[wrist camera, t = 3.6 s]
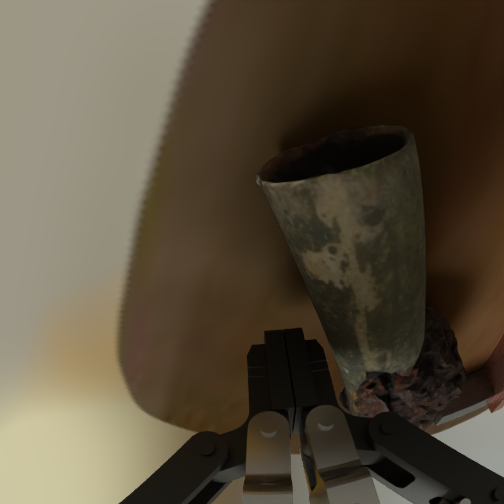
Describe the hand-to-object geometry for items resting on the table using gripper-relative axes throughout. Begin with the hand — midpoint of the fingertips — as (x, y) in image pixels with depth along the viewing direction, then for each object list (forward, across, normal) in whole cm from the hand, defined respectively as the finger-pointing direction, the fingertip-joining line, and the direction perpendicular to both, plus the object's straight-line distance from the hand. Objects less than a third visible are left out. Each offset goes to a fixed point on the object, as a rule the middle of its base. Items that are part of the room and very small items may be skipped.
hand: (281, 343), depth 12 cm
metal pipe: (+2, -5, 0) cm, 6 cm away
